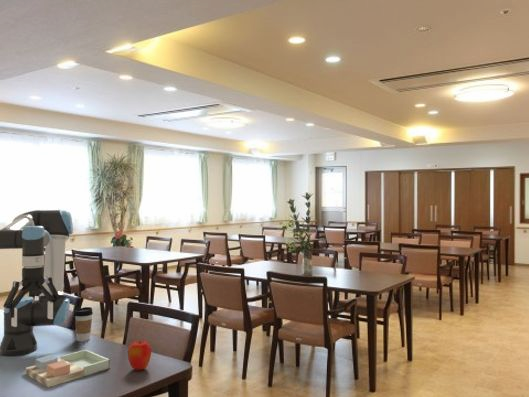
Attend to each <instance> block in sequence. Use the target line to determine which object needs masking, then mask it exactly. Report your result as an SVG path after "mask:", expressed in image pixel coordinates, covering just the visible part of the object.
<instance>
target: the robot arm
mask: <svg viewBox="0 0 529 397" xmlns="http://www.w3.org/2000/svg"><path fill="white" fill-rule="evenodd" d="M73 233H74V224H73V218H72V214H71V212H70V211H69V210H64V209H63V210H62V209H54V210H53V209H52V210H51V209H50V210H49V209H47V210H45V209H44V210H43V209H42V210H41V209H37V210H30V211H28V212H24V213H22V214H19V215H17V216H16V217H14V218H13V220H12V221H11V223H9V224H7V225H6V226H4V227H3V228H1V229H0V250H12V249H13V250H15V249H16V250H17V249H21V251H22V253H21V254H22V255H21V266H22V268H21V281H16V280H15V281H13V282H12V286H11V290H10V292H9V294H8V295H7V297H6V300H5V302H4V304H3V336H2V340H1V342H0V355H2V356H5V357H8V356H9V357H11V356H15V357H16V356H21V355H27V354H30V353H33V352H34V351H36V350H37V349H38V341H37V339H36V335H35V333H34V327H45V326H46V327H47V326H50V327H52V326H54V327H56V326H59V325H64V324H65V323H66V321H67V319H68V316H69V312H70V304H71V303H70V302H71V301H70V299H69V297H68V298H67V294H66V293H65V292H64V277H65V276H64V275H65V258H66V242H67V240H69V239H70V235H72V234H73ZM21 286H22V287H21ZM20 287H21V288H20ZM19 289H20V290H19ZM18 291H19V292H18ZM38 291H40V292H41V293H40V294H39V295H38V299H34V297H33V296H25V295H27V294H28V292H29V293H32V292H38ZM17 292H18V293H17Z"/></svg>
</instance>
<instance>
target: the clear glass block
mask: <svg viewBox="0 0 529 397" xmlns="http://www.w3.org/2000/svg"><path fill="white" fill-rule="evenodd" d="M58 359H59V358H57V357H55V356H53V355H51V354H49V355H46V356H42V357H38V358H35V360H34V362H35V363H34V364H35V365H34V366H35V367H37V368H39V369H41V370H45V369H47V365H49V364H53V363H56V362H58Z"/></svg>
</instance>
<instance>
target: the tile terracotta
mask: <svg viewBox="0 0 529 397" xmlns="http://www.w3.org/2000/svg"><path fill="white" fill-rule="evenodd" d="M69 372H70V364H68V363H66V362H64V361H60V362H56V363H53V364H49V365H47V373H48V374H50V375H52V376H54V377H56V376H59V375H63V374H66V373H69Z"/></svg>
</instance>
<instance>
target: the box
mask: <svg viewBox="0 0 529 397" xmlns="http://www.w3.org/2000/svg"><path fill="white" fill-rule="evenodd" d="M60 359H63V360H65V361H67V362H69V363H71V364H74V365H76V366H78V367H80V368H82V369H84V376H83V377H85V376H86V377H87V376H89V375H92V374H95V373H99V372H102V371H105V370H108V368H109V369H110V368H111V359H109V358H108V357H105V356H102V355H100V354H97V353H96V352H93V351H91V350H89V349H82V350H79V351H75V352H71V353H68V354H64V355H61V356H60Z"/></svg>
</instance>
